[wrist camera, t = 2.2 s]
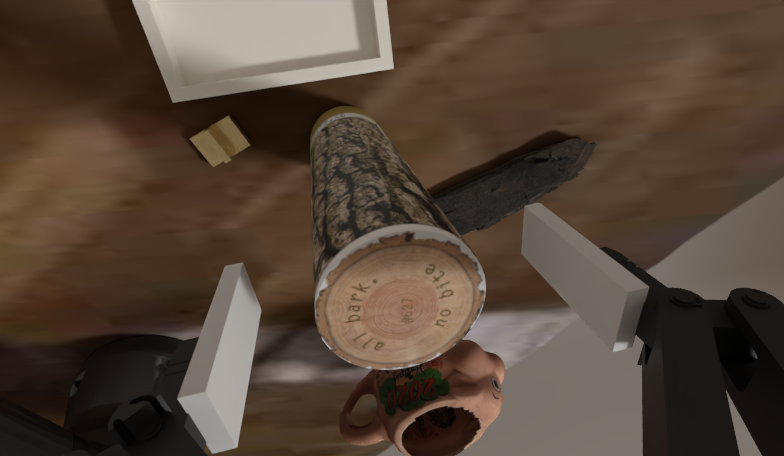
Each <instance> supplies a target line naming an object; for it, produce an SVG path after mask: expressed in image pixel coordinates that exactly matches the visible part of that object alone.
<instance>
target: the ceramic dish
mask: <svg viewBox="0 0 784 456" xmlns="http://www.w3.org/2000/svg"><path fill="white" fill-rule="evenodd" d="M132 1H133V4H134V6H135V9H136V11H137V14H138V16H139V19H140V21H141V24H142V26H143V29H144V31H145V34H146V36H147V39H148V41H149V44H150V46H151V49H152V51H153V54H154V56H155V59H156V62H157V64H158V67H159V69H160V72H161V74H162V77H163V79H164V82H165V84H166V87H167V89H168V92H169V94H170V97H171V99H172V102H173V103H175V102H181V101H188V100H194V99H201V98H207V97H214V96H220V95H227V94H233V93H240V92H246V91H253V90H259V89H266V88H272V87H279V86H285V85H292V84H298V83H304V82H311V81H317V80H324V79H330V78H337V77H343V76H350V75H356V74H363V73H369V72H376V71H382V70H389V69H394V66H393V57H392V48H391V39H390V29H389V20H388V11H387V2H386V0H132Z"/></svg>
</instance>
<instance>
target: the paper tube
mask: <svg viewBox="0 0 784 456" xmlns="http://www.w3.org/2000/svg"><path fill="white" fill-rule="evenodd" d="M310 153H311V155H310V164H311V206H312V247H313V289H314V312H315V320H316V326H317V329H318V332H319V334H320V336H321V338H322V340H323V341H324V343H325V344H326V345H327V346H328V348H329V349H330V350H331V351H332V352H334V353H335V354H336V355H337V356H339V357H340V358H342V359H344V360H345V361H347V362H349V363H352V364H354V365H357V366H360V367H364V368H369V369H377V370H394V369H402V368H407V367H412V366H415V365H419V364H422V363H425V362H427V361H429V360H432V359H434V358H436V357H438V356H440V355H441V354H443V353H445V352H446V351H448V350H449V349H450V348H452V347H453V346H454V345H456V344H457V343H458V342H459V341H460V340H461V339H462V338H463V337H464V336H465V335H466V334H467V333H468V332H469V331H470V329H471V328H472V327H473V325H474V324H475V322H476V320H477V319H478V317H479V315H480V312H481V310H482V307H483V304H484V300H485V293H486V282H485V276H484V273H483V270H482V267H481V265H480V263H479V261H478V260H477V258H476V256H475V255H474V253H473V252H472V250H471V249H470V247H469V246H468V245H467V243H466V242H465V241H464V239H463V238H462V237H461V235H460V234H459V233H458V231H457V230H456V229H455V227H454V226H453V225H452V223H451V222H450V221H449V219H448V218H447V217H446V215H445V214H444V212H443V211H442V210H441V208H440V207H439V206H438V204H437V203H436V202H435V200H434V199H433V198H432V196H431V195H430V194H429V192H428V191H427V190H426V188H425V187H424V186H423V184H422V183H421V182H420V180H419V179H418V178H417V176H416V175H415V174H414V172H413V171H412V170H411V168H410V167H409V166H408V164H407V163H406V162H405V160H404V159H403V158H402V156H401V155H400V154H399V152H398V151H397V150H396V148H395V147H394V145H393V144H392V143H391V141H390V140H389V139H388V137H387V136H386V135H385V133H384V132H383V131H382V129H381V128H380V127H379V126H378V125H377V123H376V122H375V121H374V119H373V118H372V117H371V116H370V115H369V114H368V113H366V112H365V111H363V110H361V109H359V108H356V107H352V106H339V107H335V108H332V109H330V110H328V111H326V112H325V113H324V114H322V115H321V116H320V117H319V118H318V120H317V121H316V123H315V124H314V126H313V129H312V132H311V136H310Z"/></svg>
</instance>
